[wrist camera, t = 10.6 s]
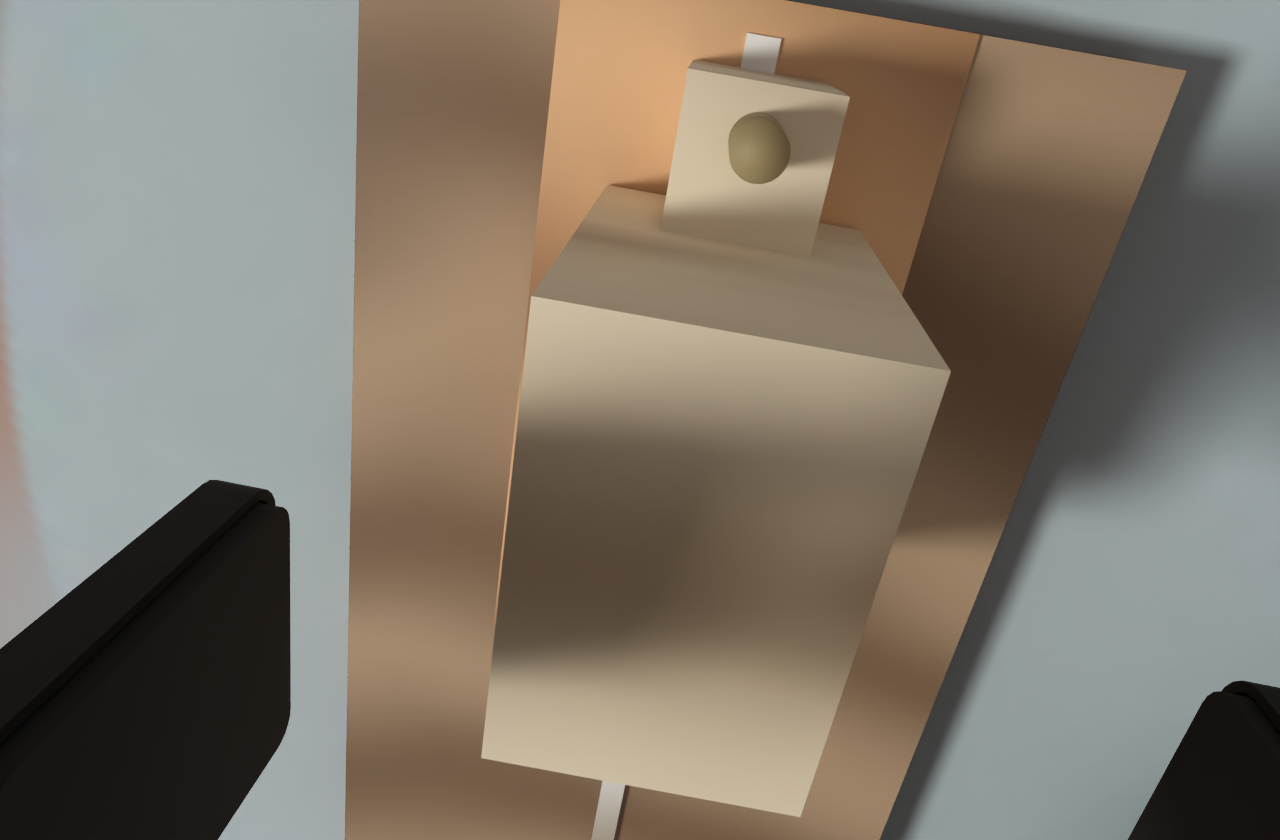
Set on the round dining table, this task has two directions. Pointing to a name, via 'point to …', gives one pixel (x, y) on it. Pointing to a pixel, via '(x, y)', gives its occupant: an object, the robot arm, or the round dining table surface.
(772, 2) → the board
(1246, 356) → the round dining table surface
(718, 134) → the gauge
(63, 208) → the round dining table surface
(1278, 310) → the round dining table surface
